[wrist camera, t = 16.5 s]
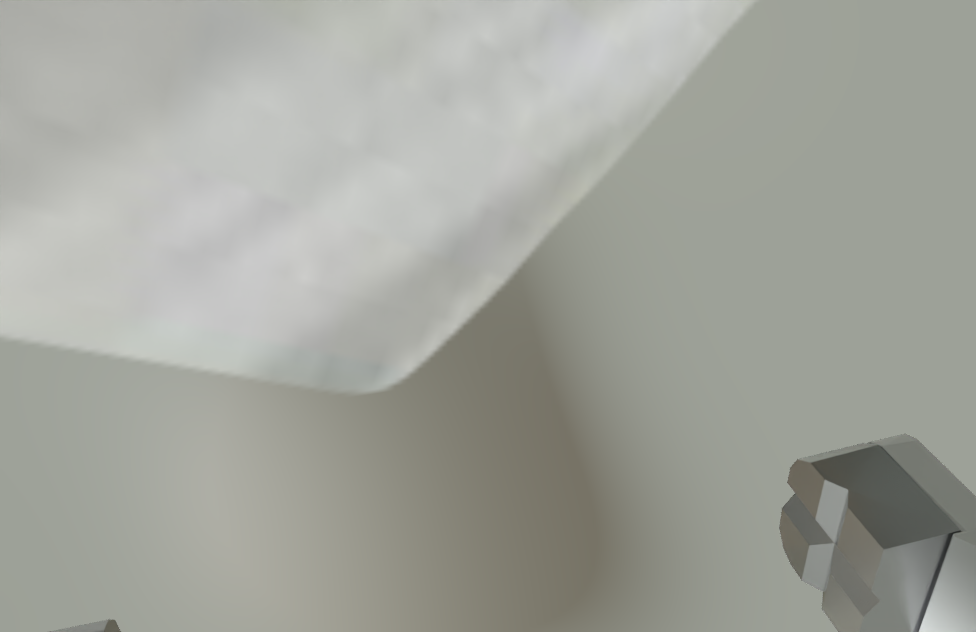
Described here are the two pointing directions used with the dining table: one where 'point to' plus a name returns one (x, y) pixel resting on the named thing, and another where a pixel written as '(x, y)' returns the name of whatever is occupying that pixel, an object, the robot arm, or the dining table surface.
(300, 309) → the dining table surface
